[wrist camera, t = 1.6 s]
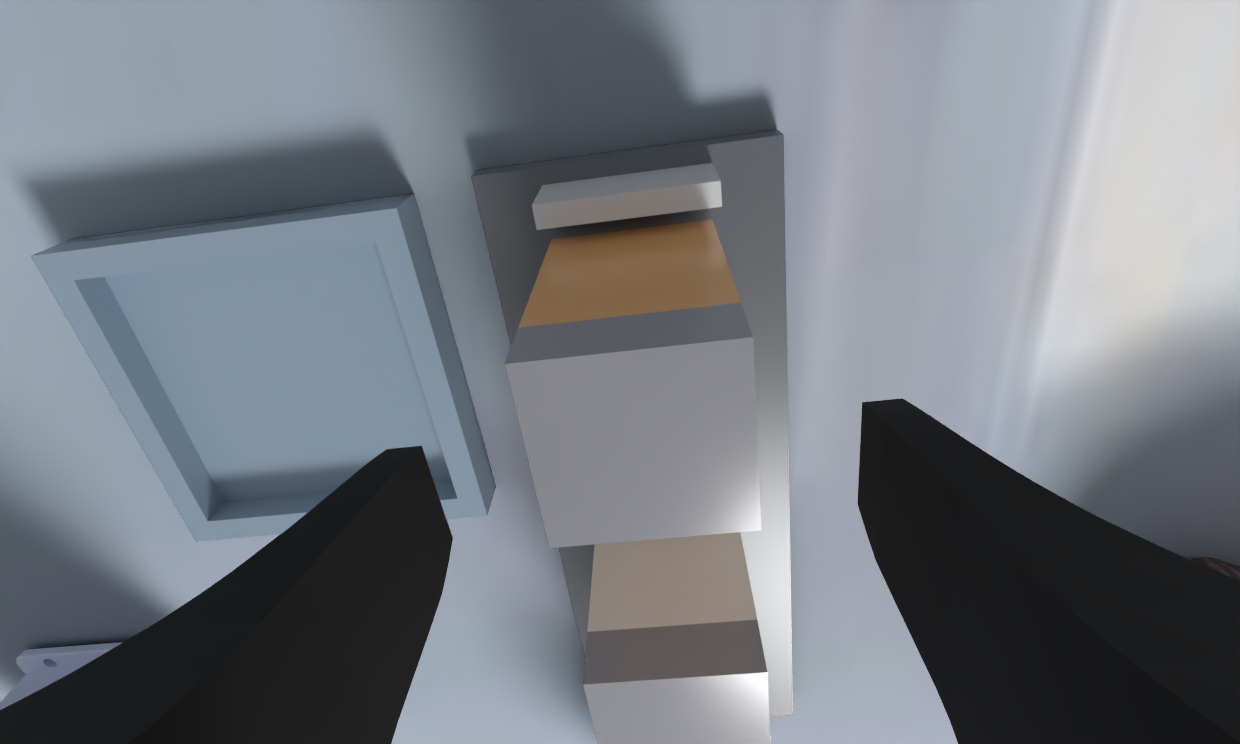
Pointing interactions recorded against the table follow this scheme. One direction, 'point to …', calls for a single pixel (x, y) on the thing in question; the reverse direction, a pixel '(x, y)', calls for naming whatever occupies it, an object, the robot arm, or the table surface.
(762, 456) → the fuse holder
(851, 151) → the table surface
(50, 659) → the robot arm
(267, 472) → the tray
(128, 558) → the table surface
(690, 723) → the block
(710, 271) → the block
